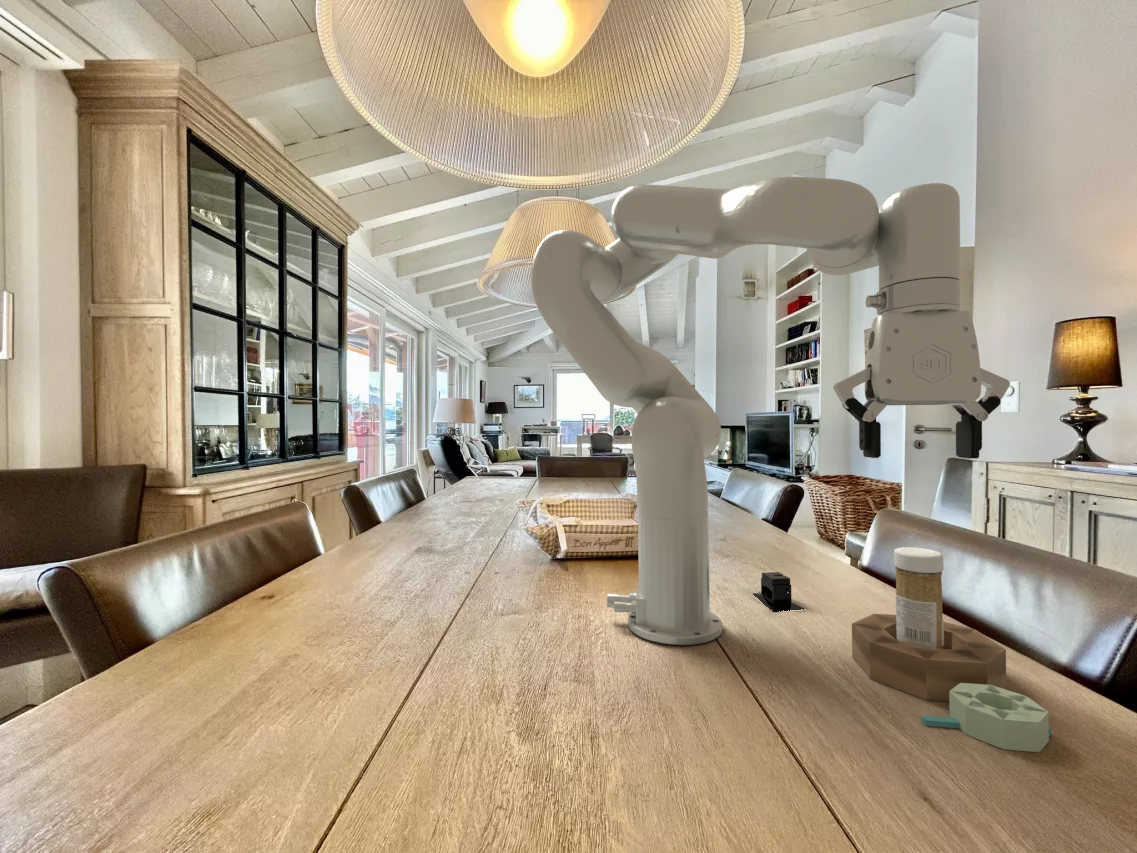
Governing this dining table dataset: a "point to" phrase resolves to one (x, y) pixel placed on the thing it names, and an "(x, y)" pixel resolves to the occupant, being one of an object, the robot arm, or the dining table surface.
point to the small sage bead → (1000, 717)
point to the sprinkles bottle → (919, 597)
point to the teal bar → (946, 722)
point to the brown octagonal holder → (926, 658)
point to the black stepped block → (776, 592)
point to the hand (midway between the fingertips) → (918, 457)
